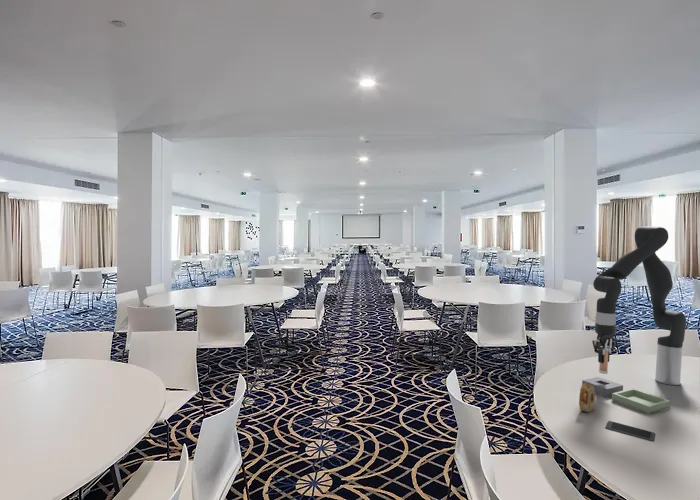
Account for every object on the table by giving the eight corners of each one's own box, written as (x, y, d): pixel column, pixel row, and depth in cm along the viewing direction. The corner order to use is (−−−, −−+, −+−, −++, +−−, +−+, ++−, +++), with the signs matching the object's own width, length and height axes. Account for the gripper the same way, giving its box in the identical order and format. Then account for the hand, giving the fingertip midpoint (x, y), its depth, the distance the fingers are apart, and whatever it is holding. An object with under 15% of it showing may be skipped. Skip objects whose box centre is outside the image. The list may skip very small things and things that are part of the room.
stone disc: (587, 416, 155) (589, 389, 154) (576, 412, 158) (578, 386, 157) (596, 408, 162) (597, 383, 162) (585, 405, 165) (587, 380, 164)
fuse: (601, 370, 183) (603, 346, 182) (609, 373, 180) (610, 347, 179) (597, 371, 181) (598, 346, 181) (604, 374, 179) (605, 348, 178)
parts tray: (632, 395, 176) (632, 388, 176) (669, 408, 164) (670, 400, 164) (611, 400, 170) (612, 393, 170) (649, 414, 158) (649, 406, 158)
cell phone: (608, 422, 151) (608, 420, 151) (655, 434, 142) (655, 432, 142) (604, 429, 145) (604, 427, 145) (654, 443, 137) (654, 440, 137)
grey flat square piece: (597, 384, 188) (598, 376, 188) (622, 393, 178) (623, 385, 178) (581, 388, 183) (582, 380, 183) (606, 397, 174) (607, 389, 173)
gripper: (606, 319, 186) (605, 357, 187) (586, 322, 180) (584, 361, 181) (624, 323, 179) (622, 362, 180) (603, 326, 173) (602, 367, 174)
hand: (603, 362), depth 180 cm, fingers closed on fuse, 3 cm apart
